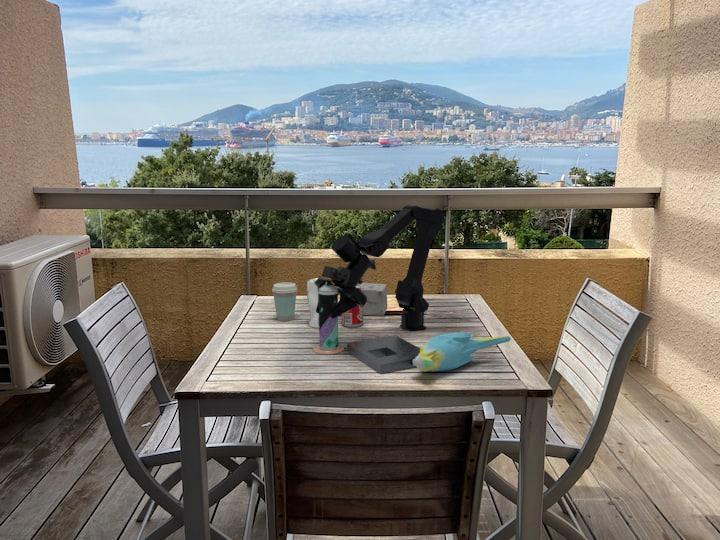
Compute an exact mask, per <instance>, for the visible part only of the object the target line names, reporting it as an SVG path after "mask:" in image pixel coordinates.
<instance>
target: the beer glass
mask: <svg viewBox="0 0 720 540" xmlns="http://www.w3.org/2000/svg"><path fill="white" fill-rule="evenodd" d="M318 278H319V277H317V278H310V279H308V280H307V284H306V298H307V304H308V308H309V309H308V310H309V322H308V323H309V324H308V326H309V327H311V328H318V329H319V313H317V312H316V308H317V305H318V301H319V289H318V287H317V286H316V285H315V282H316V281H317V279H318Z"/></svg>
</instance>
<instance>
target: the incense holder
mask: <svg viewBox="0 0 720 540" xmlns="http://www.w3.org/2000/svg"><path fill="white" fill-rule="evenodd" d="M359 285H360V284H359ZM360 286H361V289H362V291H363V293H364V294H365V295H366V296H367V302H366V304H365V305H364V307H363V316H375V317H376V316H378V317H383V316H385V314H386V312H387V310H388V290H387V284H386V283H369V282H362V284H361V285H360Z"/></svg>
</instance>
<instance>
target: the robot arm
mask: <svg viewBox="0 0 720 540" xmlns="http://www.w3.org/2000/svg"><path fill="white" fill-rule="evenodd" d="M444 220H445V215H444V213H443V212H442V210H441V209H440V208H434V207H420V206H418V205H414V204H412V205H411V204H406V205H404V206H403V208H402V209H401V210H400V211H399V212H398V213H396V215H394V216H393V217H392V218H391V219H390V220H388V221H387V222H386V223H385V224H384V225H383V226H382V227H380V228H379V229H378V230H375V231H371V232H369V233H368V234H365V235H364V236H362V237H361V238H360V239H359V240H355V238H354V237H353V235H352V234H351V233H349V232H344V234H343V235H341V236H339V237H338V238H336V239H334V241H333V242H332V243H331V250H332V251H333V252H334V253H335V254H336V255H337V257H339V259H341V261H343V263H347V265H346V266H345V267H344V266H338V267H337V268H336V267H333V266H329V265H324V268H323V270H322V273H321V277H317V278H318V279H317V278H316V279H317V281H316V282H315V285H316V286H317V287H318V289H319V288H321V287H322V286H323V285H324V284H325V280H328V281H331V283H332V284H333V286H334V287H336V288H337V291H338V295H339V299H338V304H337V305H336V307H335V309H334V310H333V312H332V314H331V316H330V317H331V318H332V319H334V318H335V317H337V316H338V317H339V316H340V315H341V314H342V313H344V312H346V311H348V310H350V309H352V308H354V307H357V306H358V305H360V306H363V307H364V305H365V304H366V302H367V296H366V295H365V294H364V293H363V292H362V291H361V290H360V289H359V288H357V287H356V286H357V285H361V284H362V283H363V280H362V278H363V277H364V275H365V274H366V273H367V271H368V270H369V269H370V270H376V267H377V266H376V261H375V259H371V258H370V257H374V258H380V257H382V256H383V255H384V253H386V251H387V250H388V249H389V247H390V244H391V241H392V240H393V239H395V237H397V236H398V235H399V234H400V233H401V232H402V231H404V229H406V228H407V227H408V226H410V224H411V223H413V222H414V221H415V227H416V232H417V235H416V239H415V242H414V247H413V249H412V250H413V251H412V252H411V253H412V254H411V258H410V261H409V264H408V269H407V273H406V276H405V277H404V278H403V280H401V279H400V280H398V281H397V284H396V289H395V291H394V293H395V299H396V301H397V304H398V308H400V309H402V313H401V316H400V317H401V318H400V319H401V320H400V321H401V323H400V324H399V327H400V328H403V329H405V330H407V331H409V332H412V331H418V330H425V329H427V326H426V325H424V324H425V320H424V319H425V312H427V311H428V310H429V306H430V304H429V302H428V301H427V300H426V299H425V298H424V297H423V296H424V285H423V282H422V280H423V276H424V273H425V268H426V264H427V260H428V256H429V255H430V254H429V253H430V251H431V246H432V242H433V238H434V237H435V236H436V234H438V232H439V231H440V230H441V228H442V225H443V223H444ZM369 256H370V257H369ZM329 279H330V280H329ZM316 312H317V313H319V301H318V305H317V308H316ZM341 316H342V315H341Z"/></svg>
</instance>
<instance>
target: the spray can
mask: <svg viewBox="0 0 720 540" xmlns="http://www.w3.org/2000/svg"><path fill="white" fill-rule="evenodd" d="M328 280H329V279H328ZM328 280H325V284H324V285H323V286H322V287H321V288H319V328H318V329H319V330H318V331H319V332H318V334H319V335H318V336H319V338H318V339H319V343H318V345H319V347H320V349H321V350H324V351H333V350H336V349H338V344H339V316H337V317H335V318H334V319H332V318H331V317H330V316H331V314H332V312H333V310H334V309H335V307H336V305H337V304H338V302H339V294H338V291H337V288H336V287H334V286H333V285H334V283H332V282H331V281H330V280H329V281H328Z"/></svg>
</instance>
